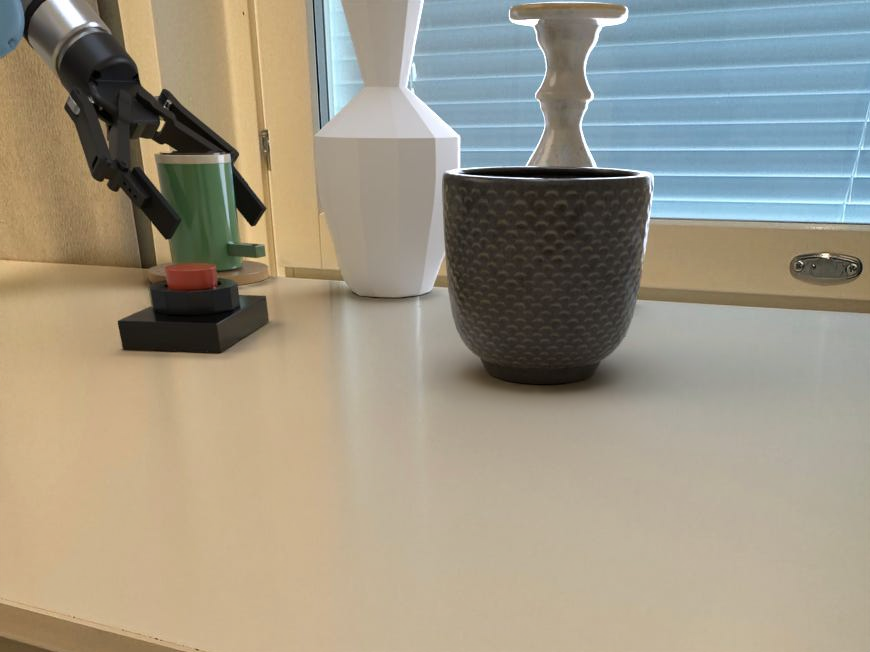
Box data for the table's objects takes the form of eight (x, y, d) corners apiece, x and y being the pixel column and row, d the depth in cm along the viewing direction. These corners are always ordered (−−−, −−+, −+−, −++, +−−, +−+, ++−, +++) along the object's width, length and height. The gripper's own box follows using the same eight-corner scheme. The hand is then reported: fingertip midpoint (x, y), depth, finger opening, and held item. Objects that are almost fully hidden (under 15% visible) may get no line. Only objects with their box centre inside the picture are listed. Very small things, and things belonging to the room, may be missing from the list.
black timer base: (122, 349, 70) (111, 296, 68) (183, 318, 80) (175, 271, 78) (220, 353, 69) (212, 298, 67) (269, 321, 79) (263, 273, 77)
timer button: (160, 293, 71) (156, 269, 70) (180, 284, 74) (176, 262, 73) (208, 294, 71) (204, 271, 70) (226, 286, 74) (223, 263, 73)
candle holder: (476, 300, 88) (478, 7, 76) (553, 288, 94) (565, 15, 82) (556, 318, 81) (572, -3, 69) (633, 303, 87) (659, 7, 75)
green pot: (157, 268, 97) (137, 152, 91) (205, 259, 103) (189, 149, 97) (239, 276, 93) (224, 155, 87) (284, 266, 99) (273, 152, 93)
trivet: (128, 285, 94) (126, 275, 94) (177, 267, 105) (176, 258, 105) (246, 289, 93) (245, 279, 92) (284, 269, 104) (283, 260, 104)
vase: (380, 309, 84) (365, -17, 71) (299, 289, 93) (272, -3, 80) (490, 291, 92) (493, -3, 80) (405, 275, 101) (396, 8, 89)
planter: (420, 356, 68) (414, 167, 62) (582, 343, 73) (593, 164, 66) (485, 406, 57) (488, 181, 50) (672, 386, 61) (697, 176, 55)
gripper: (158, 90, 105) (274, 236, 107) (-28, 86, 86) (117, 263, 88) (184, 35, 100) (305, 189, 103) (-6, 17, 81) (147, 206, 83)
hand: (219, 223), depth 95 cm, fingers open, 13 cm apart
